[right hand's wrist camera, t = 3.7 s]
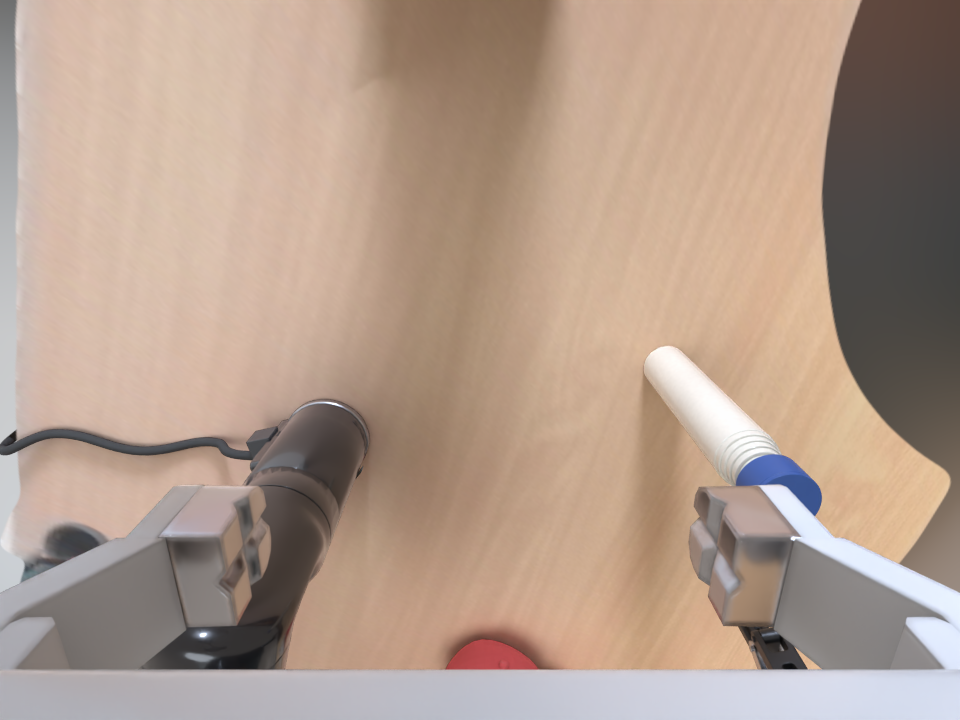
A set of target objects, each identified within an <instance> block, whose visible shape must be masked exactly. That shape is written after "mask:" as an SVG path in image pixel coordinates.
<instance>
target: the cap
mask: <svg viewBox="0 0 960 720" xmlns="http://www.w3.org/2000/svg"><path fill="white" fill-rule="evenodd" d="M778 484H780V485H783V486H785V487H787V488H788V489H789V490H790V491H791V492H792V493H793V494H794V495H795V496H796V497H797V498H798V499H799V500H800V502H801V503H802V504H803V505H804V506H805V507H806V508H807V509H808V510H809V511H810V512H811V513H812V514H813V515H814V516H815V515H816V514H817V512H818V510H819V508H820V506H821V501H822V495H821V491H820V488H819V486H818V485H817V483H816V482H815V481H814V480H813V479H811V478H810V477H809V476H808V475H807V474H806V473H805V472H804V471H803V470H802V469H801V468H800V467H799V466H798V465H797V464H796V463H795V462H794V461H793V460H791V459H790V458H788V457H786V456H783V455H777V454H770V455H764V456H761V457H758V458H756V459H754V460H752V461H751V462H749V463H748V464H747V465H746V466H745V467H744V468H743V469H742V470H741V471H740V473H739V475H738V477H737V480H736V486H753V485H778Z"/></svg>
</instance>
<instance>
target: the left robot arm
mask: <svg viewBox="0 0 960 720" xmlns="http://www.w3.org/2000/svg"><path fill="white" fill-rule="evenodd" d="M16 431H17V429H16V430H15V431H14V432H13V433H11V434H10V435H9V436H8V437H6V438H5V439H4V440H3V441H2V442H1V444H0V454H1V455H10V454H13V453H15V452H17V451H19V450H21V449H23V448H25V447H27V446H29V445H31V444H34V443H36V442H39V441H42V440H45V439H50V438H67V439H74V440H79V441H83V442H87V443H90V444H93V445H96V446H99V447H103V448H106V449H109V450H113V451H116V452H121V453H126V454H132V455H158V454H165V453H170V452H175V451H179V450H184V449H188V448H193V447H200V446H213V447H217V448H218V449H219V450H220V452H221V453H222V454H223V455H225V456H227V457H230V458H234V459H241V460H252V462H251V463H250V469H251V471H252V472H251V474H250V475H249V476H248V478H247V479H246V481H245V482H244V484H243V485H242V486H259V487H260V488H261V489H262V490H263V491H264V496H265V502H266V508H265V509H264V511H263V513H262V514H261V516H260V517H261V518H262V519H263V520H264V521H265V522H266V523H267V524H268V525H269V526H270V534H271V552H270V557H269V561H268V566H267V568H266V570H265V572H264V574H263V576H262V578H261V579H260V580H258V581H257V582H255V583H254V584H252V585H251V586H250V588H251V594H252V598H251V599H250V601H249V603H248V605H247V607H246V609H245V611H244V613H243V615H242V617H241V618H240V620H239V622H238V624H237V626H212V627H186V631H184V632H183V633H182V634H181V635H179V636H178V637H177V638H176V639H174V640H173V641H172V642H171V643H170V644H168V645H167V646H166V647H165V648H163V649H162V650H161V651H160V652H158V653H157V654H156V655H155V656H153V657H152V658H151V659H150V660H149V661H147V662H146V663H145V664H144V665H142V666H141V667H140V668H139V669H169V670H170V669H173V670H285V667H286V662H287V656H288V651H289V645H290V640H291V634H292V630H293V625H294V621H295V617H296V614H297V611H298V609H299V606H300V603H301V600H302V598H303V595H304V593H305V590H306V588H307V585H308V583H309V582H310V581H311V580H312V579H313V578H314V577H315V576H316V575H317V573H318V572H319V570H320V568H321V566H322V564H323V562H324V559H325V557H326V554H327V551H328V549H329V546H330V543H331V541H332V538H333V535H334V533H335V530H336V528H337V525H338V522H339V520H340V517H341V515H342V512H343V509H344V507H345V504H346V502H347V499H348V497H349V494H350V492H351V489H352V486H353V484H354V481H355V479H356V478H357V477H358V475H359V474H360V473H361V471H362V468H363V467H362V468H361V469H360V466H361V463H362V461H363V459H364V458H365V455H366V453H367V450H368V447H369V432H368V428H367V426H366V424H365V422H364V420H363V419H362V417H361V416H360V415H359V414H358V413H357V412H356V411H355V410H354V409H352V408H351V407H349V406H348V405H346V404H344V403H341V402H338V401H335V400H329V399H319V400H314V401H310V402H307V403H305V404H303V405H302V406H300V407H299V408H298V409H297V410H296V411H295V412H294V413H293V414H292V415H291V417H290V418H289V419H287V420H283V421H282V422H281V423H280V424H279V426H278V427H272V428H267V429H263V430H258V431H255V432H254V434H253V435H252V436H251V437H250V439H249V440H248V441H247V442H246V443H247V446H248V448H249V451H240V450H235V449H232V448H230V447H229V446H228V445H227V444H226V442H225V441H224V440H222V439H217V438H206V437H205V438H195V439H189V440H184V441H180V442H175V443H171V444H166V445H160V446H150V447H139V446H130V445H125V444H120V443H116V442H113V441H110V440H107V439H103V438H100V437H97V436H94V435H91V434H87V433H83V432H79V431H74V430H65V429H52V430H45V431H41V432H38V433H35V434H32V435H30V436H28V437H25V438H23V439H21V440H19V441H17V432H16ZM16 441H17V442H16ZM363 466H364V465H363ZM359 469H360V470H359ZM358 471H359V472H358ZM738 627H739V629H740V631H741V633H742V634H743V636H744V638H745V640H746V642H747V644H748V645H749V649H750V651H751V652H752V655H753V658H754V660H755V663H756V666H757V669H758V670H808V669H807V667H806V665H805V664H804V662H803V661H802V659H801V657H800V656H799V654H798V652H797V651H796V649H795V647H794V646H793V645H792V644H791V643H789V642H788V641H787V640H786V639H785V638H783V637H782V636H781V635H780V634H778V633H777V632H776V631H775V630H774V627H772V628H769V627H747V626H738ZM767 668H768V669H767Z"/></svg>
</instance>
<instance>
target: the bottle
mask: <svg viewBox="0 0 960 720" xmlns="http://www.w3.org/2000/svg"><path fill="white" fill-rule="evenodd" d="M644 374H645V377H646V378H647V380H648V381H649V382H650V384H651V385H652V386H653V388H654V389H655V390H656V392H657V393H658V394H659V396H660V397H661V398H662V400H663V401H664V402H665V404H666V405H667V406H668V408H669V409H670V410H671V412H672V413H673V414H674V416H675V417H676V418H677V420H678V421H679V422H680V424H681V425H682V426H683V428H684V429H685V430H686V432H687V433H688V434H689V436H690V437H691V438H692V440H693V441H694V442H695V444H696V445H697V446H698V448H699V449H700V450H701V452H702V453H703V454H704V456H705V457H706V458H707V460H708V461H709V462H710V464H711V465H712V466H713V468H714V469H715V470H716V472H717V473H718V474H719V475H720V476H721V477H722V478H723V479H724V480H725V481H726V482H727V483H729V484H730V485H732V486H736V480H737V477H738V475H739V473H740V471H741V470H742V469H743V468H744V467H745V466H746V465H747V464H748V463H749V462H751V461H752V460H754V459H756V458H758V457H761V456H764V455H770V454H777V455H782V454H781V452H780V450H779V448H778V446H777V444H776V443H775V442H774V440H773V439H772V438H771V437H770V436H769V435H768V434H767V433H766V432H765V431H764V430H763V429H762V428H761V427H760V426H759V425H758V424H757V423H756V422H755V421H754V420H753V419H752V418H751V417H750V416H749V415H748V414H747V413H745V412H744V411H743V410H742V409H741V408H740V407H739V406H738V405H737V404H736V403H735V402H734V401H733V400H732V399H731V398H730V397H729V396H728V395H727V394H726V393H725V392H724V391H723V390H722V389H721V388H720V387H718V386H717V385H716V384H715V383H714V382H713V381H712V380H711V379H710V378H709V377H708V376H707V375H706V374H705V373H704V372H703V371H702V370H701V369H700V368H699V367H698V366H697V365H696V364H695V363H694V362H693V361H692V360H690V359H689V358H688V357H687V356H686V355H685V354H684V353H683V352H682V351H681V350H680V349H678V348H676V347H672V346H664V347H660V348H657V349H656V350H654V351H653V352H651V353H650V354H649V356H648V357H647V359H646V360H645V363H644Z"/></svg>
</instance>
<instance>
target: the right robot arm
mask: <svg viewBox="0 0 960 720" xmlns="http://www.w3.org/2000/svg"><path fill="white" fill-rule="evenodd" d="M265 508H266V502H265V496H264V491H263V490H262V489H261V488H260V487H259V486H232V485H206V486H205V485H179V486H174V487H173V488H172V489H171V490H170V491H169V492H168V493H167V494H166V495H165V496H164V497H163V498H162V499H161V501H160V502H159V503H158V504H157V505H156V506H155V507H154V508H153V509H152V510H151V511H150V512H149V513H148V514H147V515H146V516H145V518H144V519H143V520H142V521H141V522H140V523H139V524H138V525H137V526H136V527H135V528H134V529H133V530H132V531H131V532H130V533H129V535H128V536H127V537H126V538H115V539H113V540H111V541H109V542H107V543H105V544H103V545H100V546H98V547H96V548H94V549H92V550H90V551H88V552H86V553H83V554H81V555H79V556H77V557H75V558H73V559H71V560H69V561H66V562H64V563H62V564H60V565H58V566H56V567H54V568H52V569H50V570H47V571H45V572H43V573H41V574H39V575H37V576H35V577H33V578H30V579H28V580H26V581H24V582H22V583H20V584H18V585H16V586H13V587H11V588H9V589H7V590H5V591H3V592H1V593H0V720H960V593H959V592H957V591H955V590H953V589H951V588H948V587H946V586H944V585H942V584H940V583H938V582H936V581H934V580H931V579H929V578H927V577H925V576H923V575H921V574H919V573H917V572H915V571H912V570H910V569H908V568H906V567H904V566H902V565H900V564H898V563H895V562H893V561H891V560H889V559H887V558H885V557H883V556H881V555H879V554H876V553H874V552H872V551H870V550H868V549H866V548H864V547H862V546H860V545H857V544H855V543H853V542H851V541H849V540H847V539H845V538H834V537H833V536H832V535H831V533H830V532H829V531H828V530H827V529H826V528H825V527H824V526H823V525H822V524H821V523H820V522H819V521H818V520H817V519H816V517H815V516H814V515H813V514H812V513H811V512H810V511H809V510H808V509H807V508H806V507H805V506H804V505H803V504H802V503H801V502H800V500H799V499H798V498H797V497H796V496H795V495H794V494H793V493H792V492H791V491H790V490H789V489H788V488H787V487H785V486H783V485H780V484H778V485H753V486H718V487H699V488H698V490H697V493H696V495H695V501H694V508H695V509H696V511H697V513H698V514H699V516H700V517H699V518H698V519H697V520H696V521H695V522H694V523H693V524H692V525H691V526H690V535H689V551H690V558H691V562H692V565H693V568H694V570H695V572H696V574H697V576H698V578H699V579H700V580H702V581H703V582H705V583H706V584H708V585H709V586H710V588H709V594H708V598H709V599H710V601H711V603H712V605H713V607H714V609H715V611H716V613H717V615H718V616H719V618H720V620H721V622H722V624H723V626H747V627H774V630H775V631H776V632H777V633H778V634H780V635H781V636H782V637H783V638H785V639H786V640H787V641H788V642H789V643H791V644H792V645H793V646H794V647H796V648H797V649H798V650H799V651H801V652H802V653H803V654H804V655H805V656H807V657H808V658H809V659H810V660H812V661H813V662H814V663H815V664H817V665H818V666H819V667H820V668H821V669H823V670H173V669H170V670H169V669H139V668H140V667H141V666H142V665H144V664H145V663H146V662H147V661H149V660H150V659H151V658H152V657H153V656H155V655H156V654H157V653H158V652H160V651H161V650H162V649H163V648H165V647H166V646H167V645H168V644H170V643H171V642H172V641H173V640H174V639H176V638H177V637H178V636H179V635H181V634H182V633H183V632H184V631H186V627H212V626H237V624H238V622H239V620H240V618H241V617H242V615H243V613H244V611H245V609H246V607H247V605H248V603H249V601H250V599H251V598H252V594H251V588H250V586H251V585H252V584H254V583H255V582H257V581H258V580H260V579H261V578H262V576H263V574H264V572H265V570H266V568H267V566H268V561H269V557H270V552H271V534H270V526H269V525H268V524H267V523H266V522H265V521H264V520H263V519H262V518H261V517H260V516H261V514H262V513H263V511H264V509H265Z"/></svg>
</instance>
